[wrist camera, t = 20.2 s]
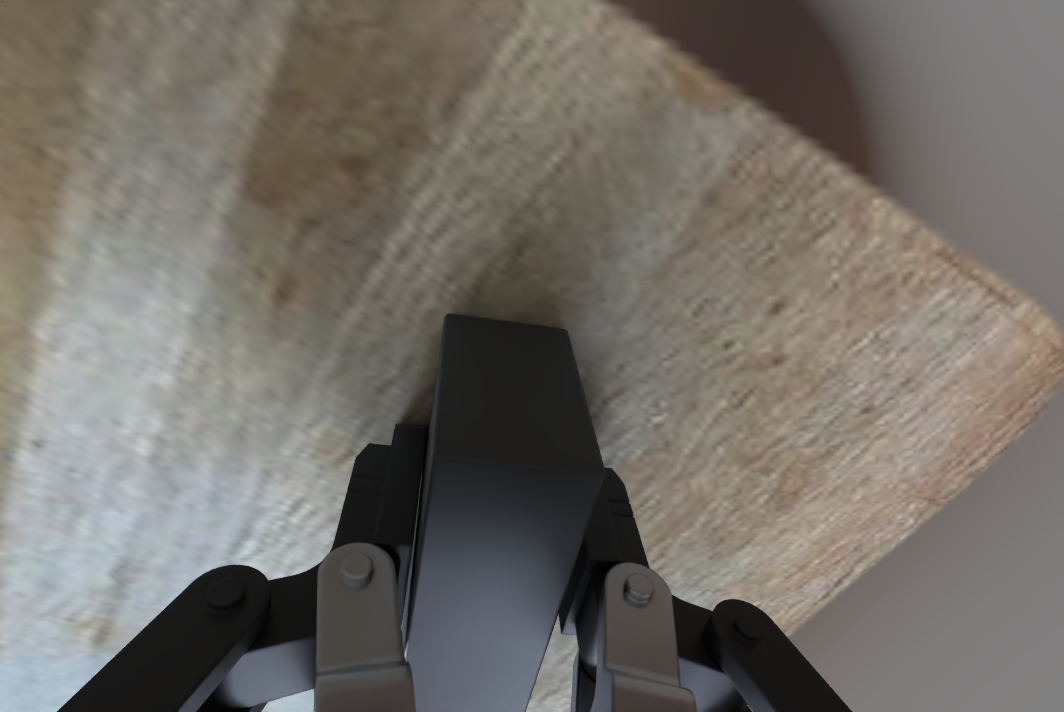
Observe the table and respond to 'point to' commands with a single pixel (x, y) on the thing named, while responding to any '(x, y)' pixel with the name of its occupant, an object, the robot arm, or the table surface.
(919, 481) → the table surface
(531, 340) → the knife
